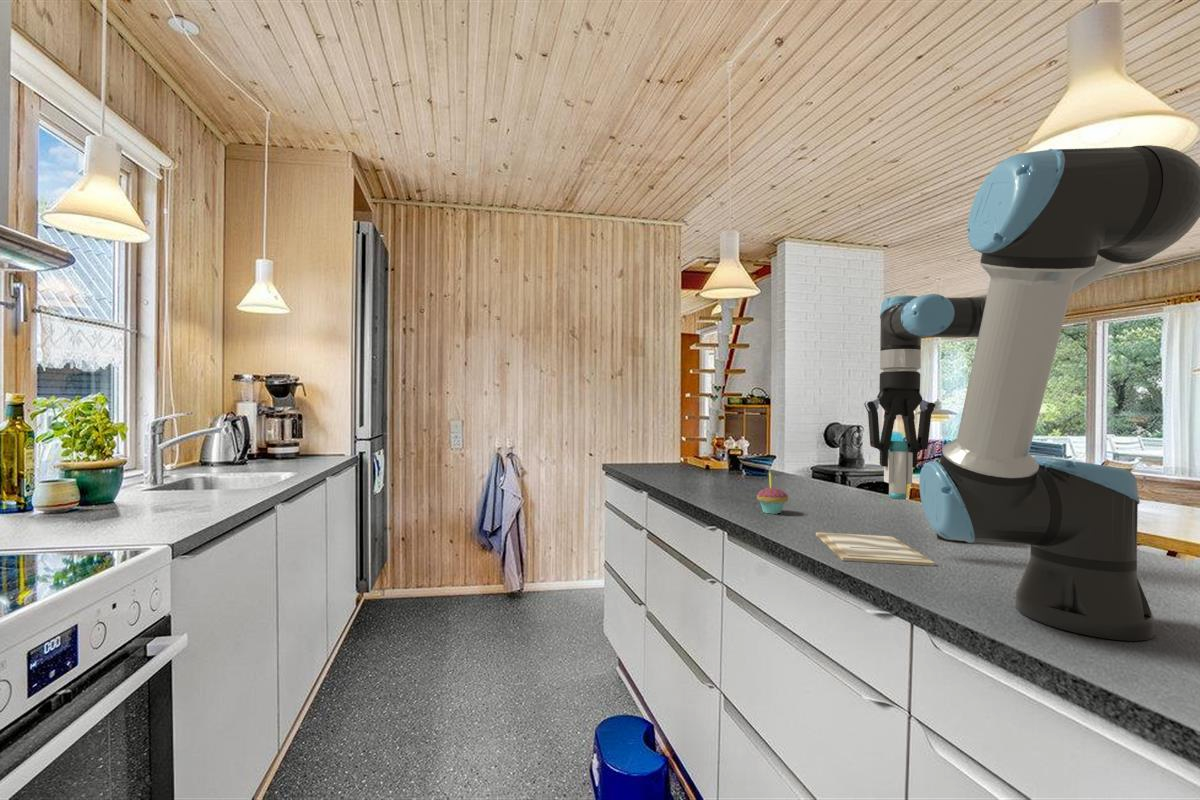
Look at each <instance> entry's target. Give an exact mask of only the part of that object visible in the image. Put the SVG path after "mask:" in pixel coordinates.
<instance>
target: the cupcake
mask: <svg viewBox="0 0 1200 800" xmlns="http://www.w3.org/2000/svg"><path fill="white" fill-rule="evenodd" d="M768 477H769V478H768V479H769V487H765V488H763V489H761V490H759V491H758V492H757V496H756V499H757V500H758V501H759V504H760V506H761V509H762V512H763V513H764V512H765V513H764V514H767V513H771V514H770V515H779V514H778V513H780V514H781V513H782V509H783V506H784V504H785V503H787V502H788V501H789V500H788V499H789V497H788V496H789V495H788V494H787V493H786V492H784V491H783V490H782V489H780V488H775V487H773V479H772V478H773V477H772V473H771V471H769V474H768Z"/></svg>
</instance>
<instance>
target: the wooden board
mask: <svg viewBox="0 0 1200 800" xmlns="http://www.w3.org/2000/svg"><path fill="white" fill-rule="evenodd" d="M815 536H816V537H817V538H819V539H820V540H821V541H822V542H823V543H824V544H825V545H826V546H827V547H828V548H829V549H830V550H831V551H832V552H833V553H834V554H835V555H836V556H837V557H839V559H841V561H844V562H845V561H847V562H861V563H862V562H863V563H877V564H878V563H879V564H881V563H882V564H897V565H912V566H914V565H915V566H926V567H927V566H928V567H935V566H936V562H935V561H933V560H931V559H929V558H928V557H926V556H925V555H923V554H921V553H920V552H918V551H917V550H915V549H913V548H912V547H911V546H909V545H907V544H905V543H903V542H902V541H900V540H899V539H897V538H895V537H894V536H891V535H890V536H889V535H875V534H874V535H873V534H857V533H855V534H854V533H836V532H835V533H834V532H822V531H821V532H815Z"/></svg>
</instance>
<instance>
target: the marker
mask: <svg viewBox="0 0 1200 800" xmlns="http://www.w3.org/2000/svg"><path fill="white" fill-rule="evenodd" d="M888 451H890V452H893V483H888V499H891V500H900V501H903V500H907V452H908V442H907V441H906V440H891V442H890V448H889V450H888Z"/></svg>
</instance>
